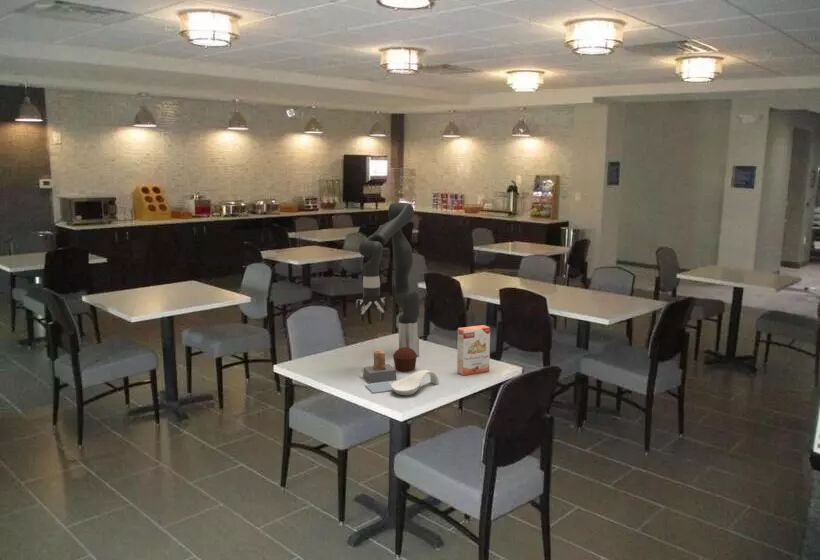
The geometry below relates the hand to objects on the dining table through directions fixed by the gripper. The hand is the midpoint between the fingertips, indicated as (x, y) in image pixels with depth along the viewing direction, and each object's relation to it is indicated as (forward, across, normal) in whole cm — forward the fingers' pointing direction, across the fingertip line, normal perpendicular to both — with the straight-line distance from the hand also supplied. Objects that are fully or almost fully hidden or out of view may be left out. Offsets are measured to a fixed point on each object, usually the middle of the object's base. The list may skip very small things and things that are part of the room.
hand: (372, 321), depth 293 cm
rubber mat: (+24, +3, +22) cm, 33 cm away
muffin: (+24, -15, +1) cm, 29 cm away
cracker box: (+24, -43, +16) cm, 52 cm away
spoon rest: (+24, -10, +29) cm, 39 cm away
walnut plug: (+24, 0, +9) cm, 26 cm away
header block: (+24, 0, +9) cm, 26 cm away
